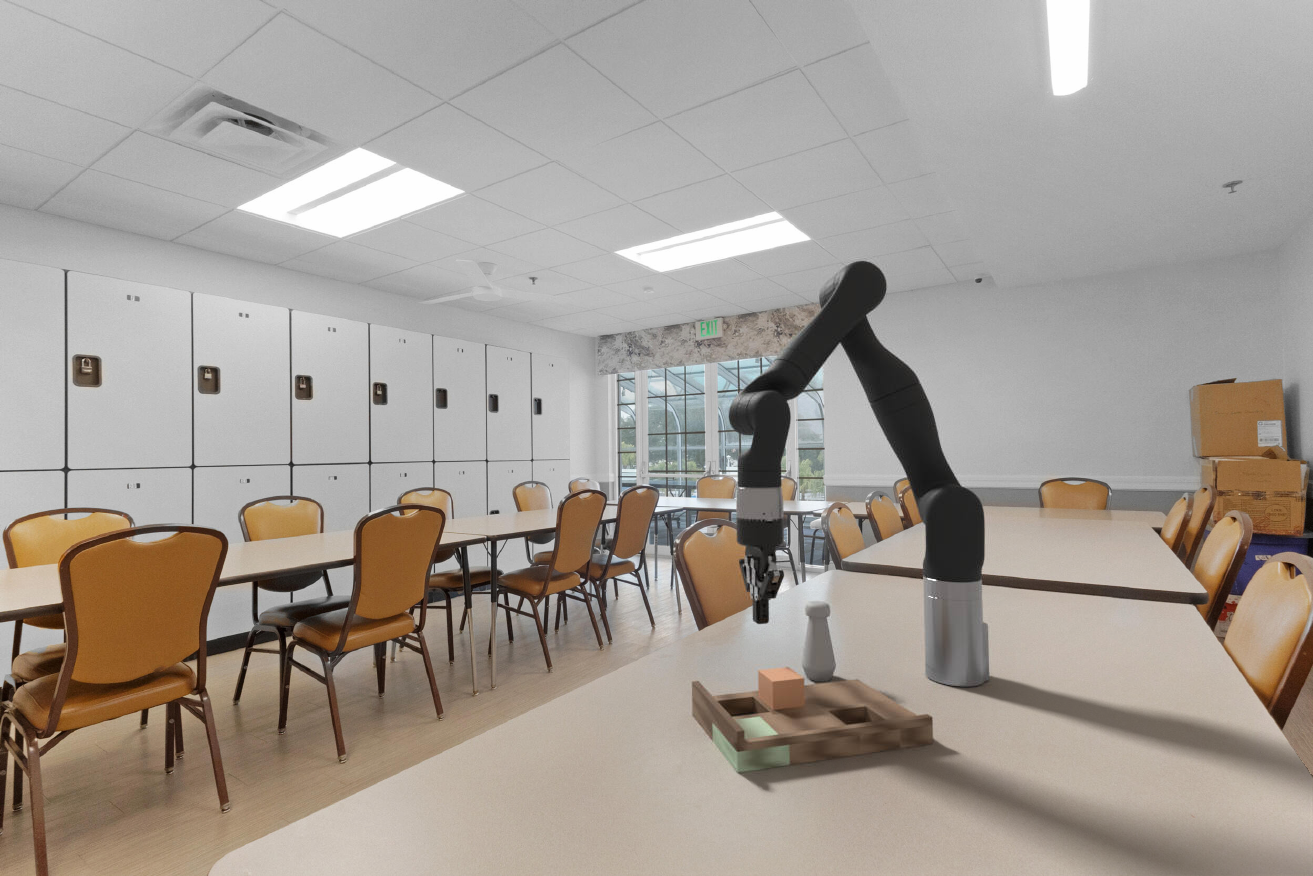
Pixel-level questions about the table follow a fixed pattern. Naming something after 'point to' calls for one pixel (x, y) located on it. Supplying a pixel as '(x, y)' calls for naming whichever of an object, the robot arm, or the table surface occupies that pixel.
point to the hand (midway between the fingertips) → (760, 622)
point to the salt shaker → (818, 643)
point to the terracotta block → (781, 688)
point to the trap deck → (807, 725)
